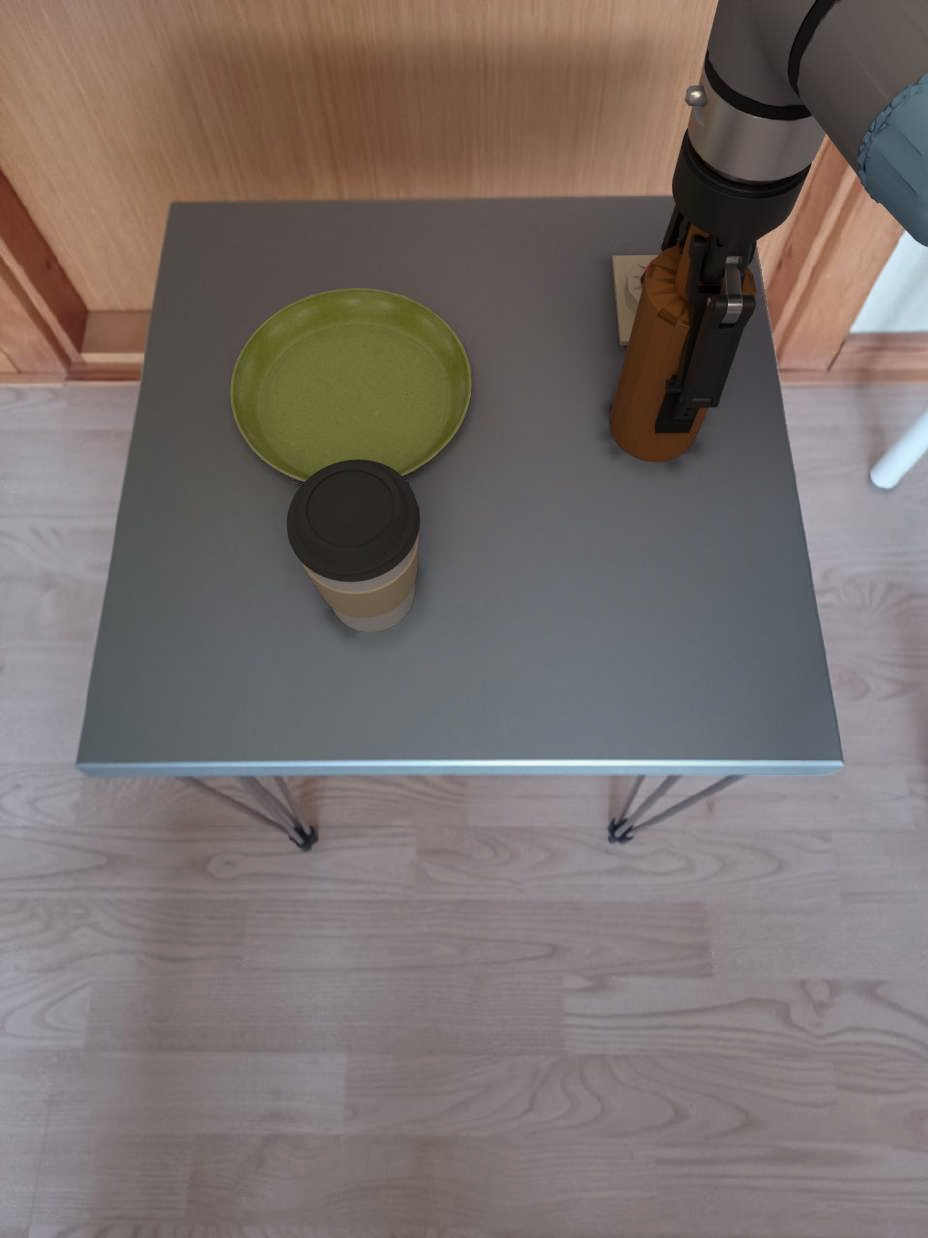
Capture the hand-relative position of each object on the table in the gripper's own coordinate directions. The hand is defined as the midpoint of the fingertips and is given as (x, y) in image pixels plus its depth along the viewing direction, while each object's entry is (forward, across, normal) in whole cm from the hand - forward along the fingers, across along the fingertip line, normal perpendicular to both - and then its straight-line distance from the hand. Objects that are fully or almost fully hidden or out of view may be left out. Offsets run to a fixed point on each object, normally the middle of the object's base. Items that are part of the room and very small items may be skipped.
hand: (666, 385), depth 71 cm
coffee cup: (+6, +16, -24) cm, 29 cm away
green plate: (+6, -3, -26) cm, 27 cm away
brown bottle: (+6, 0, 0) cm, 6 cm away
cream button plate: (+6, -14, +2) cm, 15 cm away
